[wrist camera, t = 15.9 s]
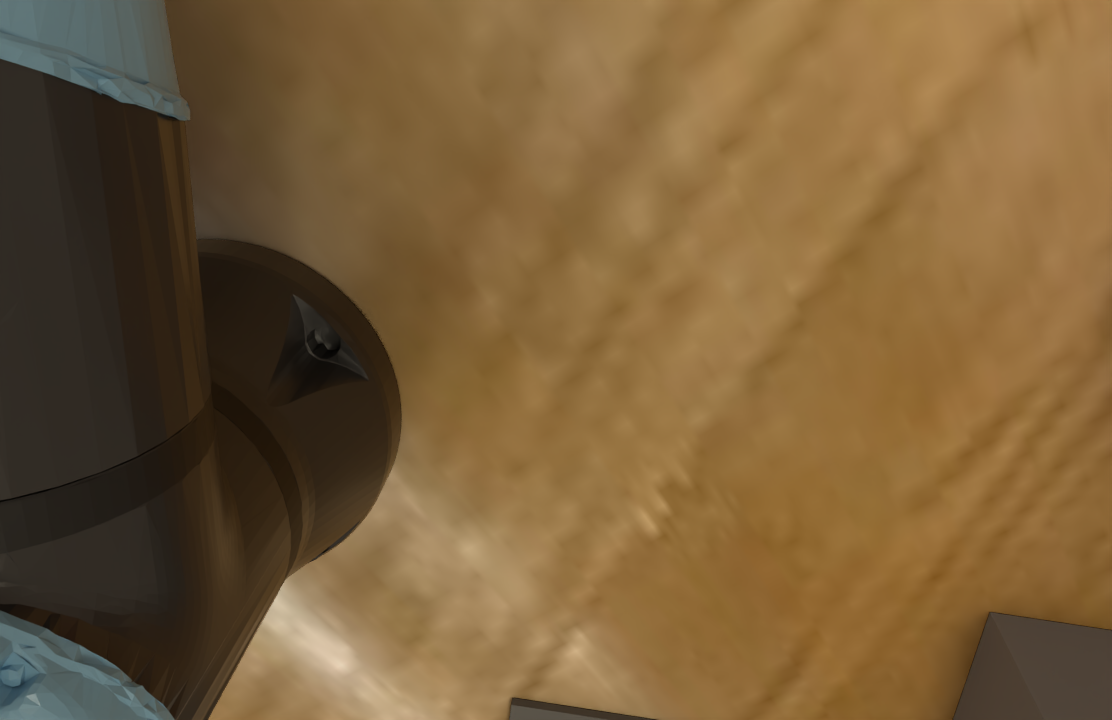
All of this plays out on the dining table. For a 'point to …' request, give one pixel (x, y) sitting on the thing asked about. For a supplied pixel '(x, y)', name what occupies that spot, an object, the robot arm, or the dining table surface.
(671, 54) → the dining table surface
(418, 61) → the dining table surface
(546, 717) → the mat
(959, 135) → the dining table surface
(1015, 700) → the box
